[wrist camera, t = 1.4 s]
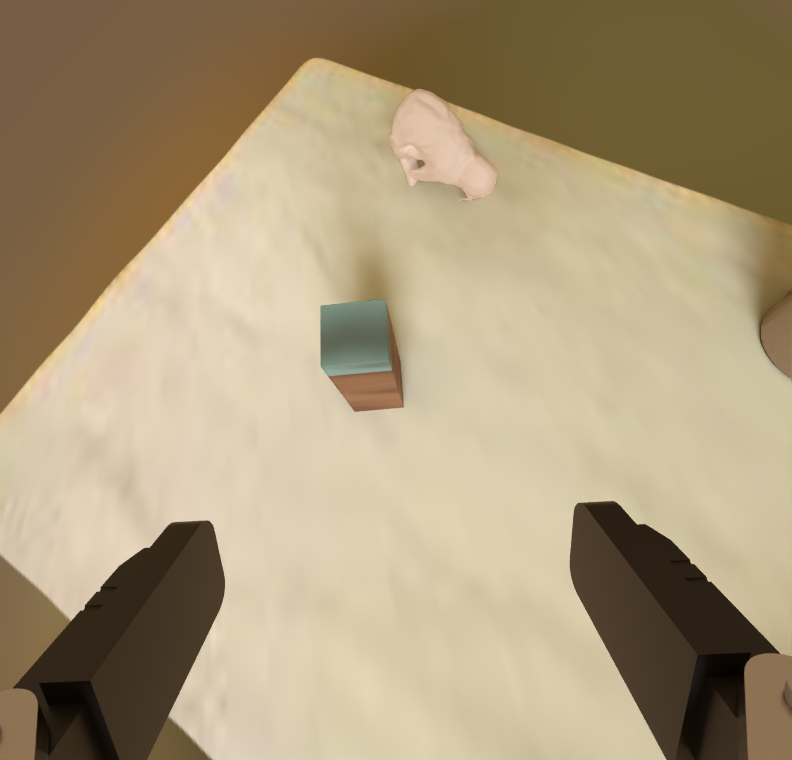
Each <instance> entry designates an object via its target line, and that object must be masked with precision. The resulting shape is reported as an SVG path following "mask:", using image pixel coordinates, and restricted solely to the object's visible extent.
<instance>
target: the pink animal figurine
mask: <svg viewBox="0 0 792 760" xmlns="http://www.w3.org/2000/svg"><path fill="white" fill-rule="evenodd" d="M389 141H390V143H391V145H392V148H393V152H394V154H395V155H396V156H397V157H399V160H400V163H401V166H402V168H403V169H404V172H405V175H406V178H407V182H408V184H409V185H410V186H411V187H414V186H415V185H416V184H417V182H418V180H420V181H429V182H437V181H438V182H442V183H444V184H454V185H455V186H458V187H460V188H461V189H462V190H463V191H464V192H465V193H466V196H468V197H467V198H463V199H462V200H466V201H463V202H467V201H470V200H473V199H480V198H481V197H483V196H487V195H489V194H490V193H491V192H492V191H493V189H494V187H495V184H496V181H497V172H496V169H495V167H494V166H493V165H492V164H491V163H490V162H489V161H488V160H487V159H485V158H484V157H482V156H480V155H478V154H475V150H474V147H473V142H472V139H471V138H470V137H469V135H468V134H467V133H466V132H465V130H464V128H463V126H462V124H461V122H460V121H459V120H458V118H457V117H456V115H455V114H454V112H453V111H452V110H451V109H450V108H449V106H448V105H447V103H446V102H445V101H444V100H443V99H441V98H439V97H438V96H436V95H435V94H433V93H432V92H430V91H426V90H422V89H416V90H415V91H413V92H412V93H410V94H409V95H408V96H407V97H406V98H405V99H404V100H403V102H402V103H401V104H400V105H399V106H398V108H397V110H396V112H395V114H394V116H393V124H392V132H391V134H390V136H389ZM417 160H423V161H424V164H425V165H424V166H423V167H420V168H418V164H417ZM462 195H463V194H462ZM463 202H461V203H463Z"/></svg>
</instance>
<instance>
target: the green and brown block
mask: <svg viewBox="0 0 792 760" xmlns="http://www.w3.org/2000/svg"><path fill="white" fill-rule="evenodd" d="M321 367H322V369H323V370H324V371H325V373H326V374H327V375H328V377H329V378H330V379H331V381H332V382H333V383H334V385H335V386H336V387H337V389H338V390H339V391H340V393H341V394H342V395H343V397H344V398H345V399H346V400H347V402H348V403H349V404H350V406H351V407H352V408H353V410H354V411H355V412H357V411H368V410H380V409H391V408H403V393H402V379H401V365H400V359H399V354H398V350H397V346H396V342H395V338H394V334H393V329H392V325H391V321H390V317H389V313H388V309H387V304H386V300H385V299H380V300H370V301H361V302H351V303H342V304H332V305H323V306H321Z"/></svg>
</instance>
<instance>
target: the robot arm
mask: <svg viewBox="0 0 792 760" xmlns="http://www.w3.org/2000/svg"><path fill="white" fill-rule="evenodd" d="M761 339H762V343H763V347H764V349H765V351H766V353H767V355H768V357H769V358H770V359H771V361H772V362H773V363H774V364H775V366H776V367H777V368H779V369H780V370H781V371H782V372H783V373H784V374H785V375H787V376H788V377H790V378H791V379H792V289H791V290H790V291H789V295H788V297H786V298H785V299H783V300H782V301H780V302H778V303H777V304H775V305H774V306H773V307H772V308H771V309H770V310H769V311H768V312H767V314H766V315H765V317H764V318H763V322H762V325H761ZM570 572H571V577H572V581H573V584H574V587H575V590H576V592H577V594H578V596H579V598H580V600H581V602H582V603H583V605H584V607H585V609H586V611H587V613H588V615H589V616H590V618H591V620H592V622H593V624H594V626H595V628H596V629H597V631H598V633H599V635H600V637H601V639H602V641H603V642H604V644H605V646H606V648H607V650H608V652H609V654H610V655H611V657H612V659H613V661H614V663H615V665H616V667H617V668H618V670H619V672H620V674H621V676H622V678H623V680H624V681H625V683H626V685H627V687H628V689H629V691H630V693H631V694H632V696H633V698H634V700H635V702H636V704H637V706H638V707H639V709H640V711H641V713H642V715H643V717H644V719H645V720H646V722H647V724H648V726H649V728H650V730H651V732H652V733H653V735H654V737H655V739H656V741H657V743H658V745H659V746H660V748H661V750H662V752H663V754H664V756H665V758H666V759H667V760H792V657H791V656H787V655H783V654H780V653H779V652H778V651H777V650H776V649H775V648H774V647H773V646H772V645H771V644H770V642H769V641H768V640H767V639H766V638H765V637H764V636H763V635H762V634H761V633H760V632H759V631H758V630H757V629H756V628H755V627H754V626H753V625H752V624H751V623H750V622H749V621H748V620H747V619H746V618H745V617H744V615H743V614H742V613H741V612H740V611H739V610H738V609H737V608H736V607H735V606H734V605H733V604H732V603H731V602H730V601H729V600H728V599H727V598H726V597H725V596H724V595H723V594H722V593H721V592H720V591H719V590H718V589H717V587H716V586H715V585H714V584H713V583H712V582H708V581H707V577H706V576H705V575H704V574H703V573H702V572H701V571H700V570H699V569H698V568H697V567H696V566H695V565H694V564H691V563H690V559H689V558H688V557H687V556H686V555H685V554H684V553H683V552H682V551H681V550H680V549H679V548H678V547H677V546H676V545H675V544H674V543H673V542H672V541H671V540H670V539H668V538H667V537H665V536H663V535H662V534H660V533H659V532H657V531H655V530H654V529H652V528H650V527H649V526H647V525H646V524H639V525H637V524H636V523H635V522H634V521H633V520H632V519H631V517H630V516H629V515H628V514H627V513H626V512H625V511H624V510H623V508H622V507H621V506H620V505H619V504H618V503H616V502H614V501H607V502H587V503H578V504H577V505H576V506H575V509H574V516H573V528H572V540H571V552H570ZM224 591H225V577H224V572H223V567H222V563H221V558H220V554H219V549H218V544H217V540H216V535H215V531H214V527H213V525H212V523H211V522H210V521H190V522H173V523H171V524H170V525H168V526H167V528H166V529H165V530H164V531H163V532H162V534H161V535H160V536H159V537H158V538H157V540H156V541H155V542H154V543H153V545H152V546H151V547H150V548H144V549H142V550H141V551H139V552H138V553H137V554H135V555H134V556H133V557H131V558H130V559H128V560H127V561H126V562H124V563H123V564H122V565H120V566H119V567H118V568H117V569H116V570H115V572H114V573H113V574H112V575H111V576H110V577H109V578H108V580H107V581H106V582H105V583H104V584H103V585H102V587H101V590H100V592H96V593H95V595H94V596H93V597H92V598H91V599H90V600H89V601H88V603H87V604H86V605H85V609H84V610H83V611H80V612H79V613H78V614H77V615H76V616H75V618H74V619H73V620H72V621H71V622H70V623H69V625H68V626H67V627H66V628H65V629H64V630H63V631H62V633H61V634H60V635H59V636H58V637H57V638H56V639H55V640H54V642H53V643H52V644H51V645H50V646H49V647H48V649H47V650H46V651H45V652H44V653H43V654H42V656H41V657H40V658H39V659H38V660H37V661H36V662H35V663H34V665H33V666H32V667H31V668H30V669H29V670H28V672H27V673H26V674H25V675H24V676H23V677H22V678H21V679H20V681H19V682H18V683H17V684H16V685H15V686H14V687H13V689H8V690H3V691H0V760H147V759H148V756H149V754H150V752H151V750H152V748H153V746H154V744H155V742H156V740H157V738H158V736H159V734H160V731H161V729H162V727H163V725H164V723H165V721H166V719H167V717H168V715H169V713H170V711H171V709H172V707H173V705H174V703H175V701H176V699H177V697H178V695H179V692H180V690H181V688H182V686H183V684H184V682H185V680H186V678H187V676H188V674H189V672H190V670H191V668H192V666H193V664H194V662H195V659H196V657H197V655H198V653H199V651H200V649H201V647H202V645H203V643H204V641H205V639H206V637H207V635H208V633H209V631H210V629H211V626H212V624H213V622H214V620H215V618H216V616H217V614H218V612H219V610H220V608H221V605H222V602H223V597H224Z"/></svg>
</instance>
